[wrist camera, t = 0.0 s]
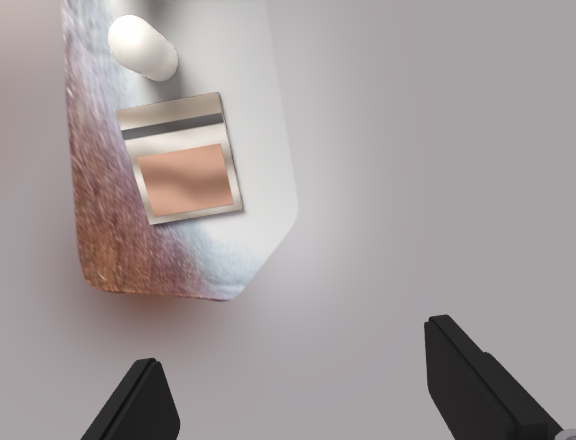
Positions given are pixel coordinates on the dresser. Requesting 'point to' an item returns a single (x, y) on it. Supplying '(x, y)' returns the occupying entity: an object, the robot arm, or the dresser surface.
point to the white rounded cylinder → (142, 48)
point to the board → (181, 158)
